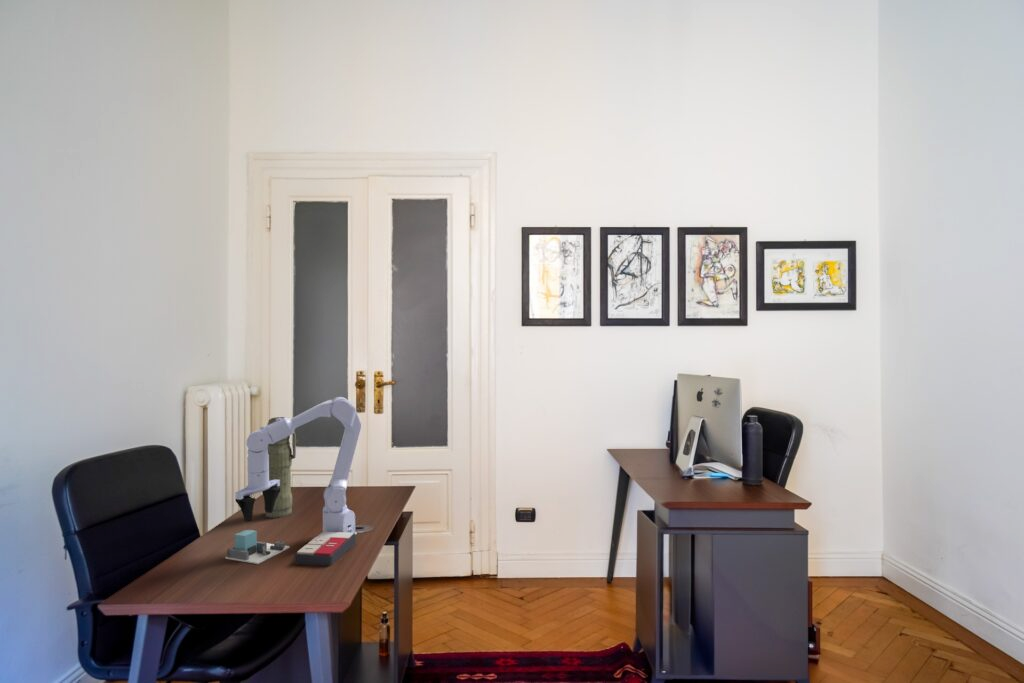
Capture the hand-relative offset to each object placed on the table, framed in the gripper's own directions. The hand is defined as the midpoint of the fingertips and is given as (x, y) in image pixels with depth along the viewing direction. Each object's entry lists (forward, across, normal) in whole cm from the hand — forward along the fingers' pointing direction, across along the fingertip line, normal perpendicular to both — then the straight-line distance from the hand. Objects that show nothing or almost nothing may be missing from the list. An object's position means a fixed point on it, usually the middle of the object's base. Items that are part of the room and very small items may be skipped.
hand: (258, 516), depth 146 cm
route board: (+10, +2, +2) cm, 10 cm away
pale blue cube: (+9, +4, -1) cm, 10 cm away
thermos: (+10, -27, -19) cm, 35 cm away
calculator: (+10, -4, +22) cm, 24 cm away
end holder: (+10, +4, 0) cm, 11 cm away
